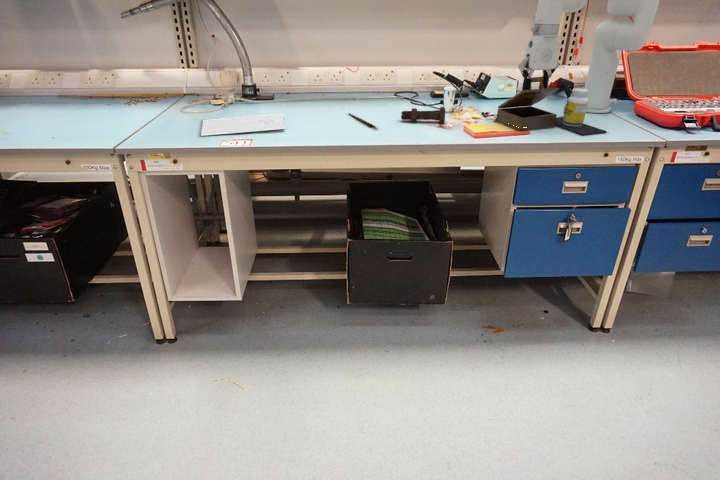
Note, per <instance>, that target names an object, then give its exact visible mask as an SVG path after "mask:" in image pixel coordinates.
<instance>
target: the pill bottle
mask: <svg viewBox="0 0 720 480" xmlns="http://www.w3.org/2000/svg"><path fill="white" fill-rule="evenodd" d="M571 93H572V95H571V96H569V97H568V98H567V101H566V103H567V105H566V104H565V105H566V109H565V113H564V115H563V117H564V118H563V124H564V125H567V126H572V127H579V126H582V124H584V120H585V118H586V114H587V112H586V110H587V106H588V98H586V95H587V94H588V90H587V89H584V88H579V87H578V88H577V87H576V88H573V89H572V92H571Z"/></svg>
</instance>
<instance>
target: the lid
mask: <svg viewBox="0 0 720 480" xmlns="http://www.w3.org/2000/svg"><path fill="white" fill-rule="evenodd" d="M530 79H532V82H531V84H532V83H539V84H540V85H541V89H539V88H532V87H533V86H531V87H530V90H521V91H520V92H519V93H517V94H515V95H514V96H512V97H510V98H509V99H508V100H506V101H504V102H503V103H501V104H499V105H498V106H497V110H498V109H503V108H515V107H526V106H532V107H533V106H534V105H536V104H537V103H539V102H541V101H542V100H544V99H546V98H548V97H549V96H551V95H553V94H554V93H556V92H558V91H560V87H547V88H546V89H544V85H543V80H544V78H543V77H541V76H531V78H530Z"/></svg>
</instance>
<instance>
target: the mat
mask: <svg viewBox="0 0 720 480" xmlns="http://www.w3.org/2000/svg"><path fill="white" fill-rule="evenodd" d="M563 118H564V116H559V117H556V121H555V126H554V127H557V128H560V129H562V130H566V131H568V132H571V133H574V134H576V135H580V136H582V137H584V136H591V135H600V134H607V130H605V129H601V128H599V127H595V126H592V125H589V124H586V123H583V124H582V126H579V127H572V126H567V125H564V124H563Z"/></svg>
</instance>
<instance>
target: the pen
mask: <svg viewBox="0 0 720 480" xmlns="http://www.w3.org/2000/svg"><path fill="white" fill-rule="evenodd" d="M348 116H351V117H352V118H354V119H355V120H357V121H358V122H360V123H361V124H364V125H366V126H367V127H369V128H371V129H374V130H377V127H376V125H374V124H372V123H370V122H367V121H366V120H364V119H362V118H359V117H358V116H356V115H353V114H351V113H348Z"/></svg>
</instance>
